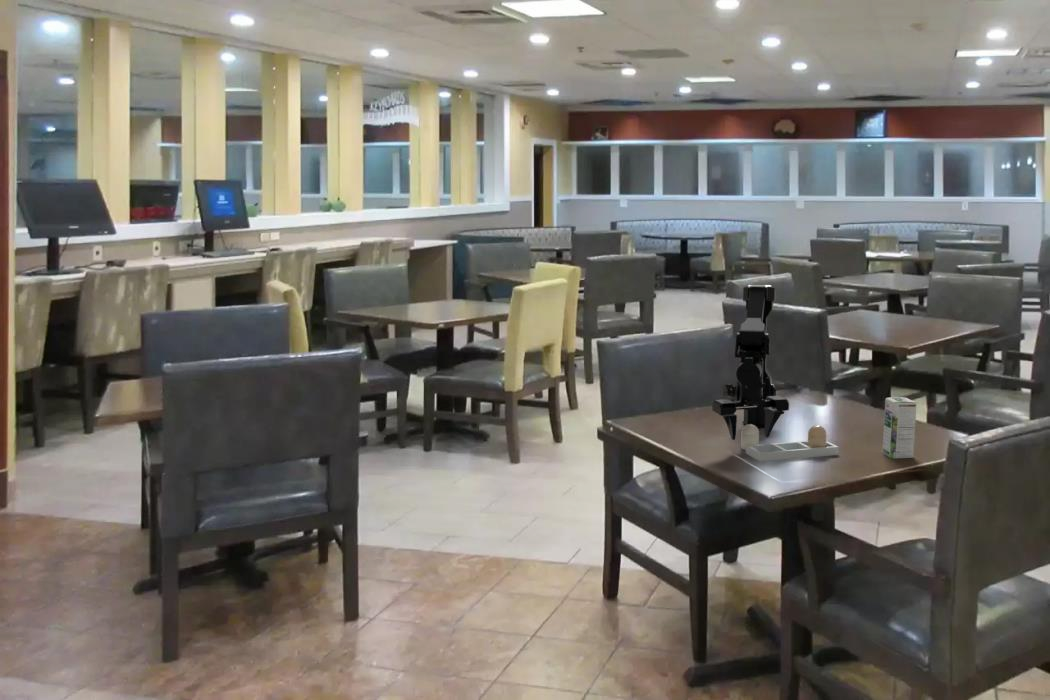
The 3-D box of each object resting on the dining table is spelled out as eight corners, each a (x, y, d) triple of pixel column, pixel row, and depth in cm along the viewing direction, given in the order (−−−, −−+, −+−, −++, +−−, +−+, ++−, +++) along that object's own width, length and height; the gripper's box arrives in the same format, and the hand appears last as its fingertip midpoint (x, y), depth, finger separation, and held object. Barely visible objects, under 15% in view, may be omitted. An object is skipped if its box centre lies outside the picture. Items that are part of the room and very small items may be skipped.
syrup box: (881, 454, 259) (883, 397, 256) (904, 453, 259) (907, 396, 257) (891, 460, 253) (893, 402, 251) (914, 459, 254) (917, 401, 251)
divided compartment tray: (822, 448, 264) (822, 439, 264) (838, 456, 257) (838, 446, 257) (745, 455, 260) (746, 445, 259) (759, 463, 252) (759, 453, 252)
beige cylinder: (820, 449, 262) (821, 422, 261) (829, 453, 258) (830, 426, 257) (804, 450, 261) (805, 424, 260) (813, 454, 257) (814, 428, 256)
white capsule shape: (753, 447, 267) (754, 421, 266) (761, 451, 263) (762, 425, 262) (737, 448, 266) (738, 423, 265) (745, 453, 262) (746, 426, 260)
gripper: (770, 370, 271) (768, 428, 274) (703, 374, 267) (703, 433, 269) (791, 378, 260) (789, 438, 263) (722, 382, 256) (721, 444, 259)
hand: (750, 438), depth 264 cm, fingers open, 9 cm apart
